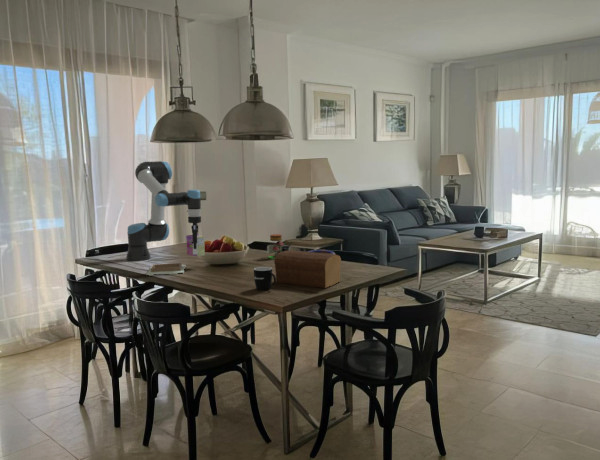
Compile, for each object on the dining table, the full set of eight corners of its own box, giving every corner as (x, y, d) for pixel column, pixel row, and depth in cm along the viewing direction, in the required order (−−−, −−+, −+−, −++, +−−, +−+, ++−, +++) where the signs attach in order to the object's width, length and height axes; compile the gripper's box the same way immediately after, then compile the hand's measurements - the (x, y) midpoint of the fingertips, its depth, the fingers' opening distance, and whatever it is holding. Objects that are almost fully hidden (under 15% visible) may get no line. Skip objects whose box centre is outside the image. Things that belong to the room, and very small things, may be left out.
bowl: (312, 273, 290) (312, 255, 288) (300, 267, 306) (299, 250, 305) (341, 270, 297) (341, 252, 295) (327, 264, 313) (327, 248, 312)
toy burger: (290, 257, 339) (289, 234, 337) (273, 260, 332) (272, 236, 330) (280, 255, 348) (279, 233, 347) (264, 257, 341) (263, 234, 340)
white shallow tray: (151, 268, 313) (151, 263, 312) (185, 266, 316) (185, 261, 316) (146, 275, 291) (146, 270, 291) (183, 273, 294) (183, 268, 294)
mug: (250, 289, 254) (249, 269, 253) (261, 286, 261) (261, 266, 260) (270, 292, 247) (269, 271, 246) (281, 288, 255) (280, 268, 253)
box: (186, 254, 312) (186, 235, 310) (194, 253, 316) (193, 234, 315) (197, 257, 305) (196, 237, 303) (204, 255, 309) (204, 236, 308)
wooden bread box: (292, 276, 283) (292, 247, 281) (341, 282, 267) (341, 251, 265) (274, 283, 267) (273, 252, 265) (325, 289, 252) (324, 256, 250)
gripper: (188, 213, 318) (190, 248, 321) (187, 218, 295) (188, 256, 298) (201, 213, 319) (202, 248, 323) (200, 218, 296) (201, 255, 299)
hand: (195, 252), depth 310 cm, fingers closed on box, 11 cm apart
